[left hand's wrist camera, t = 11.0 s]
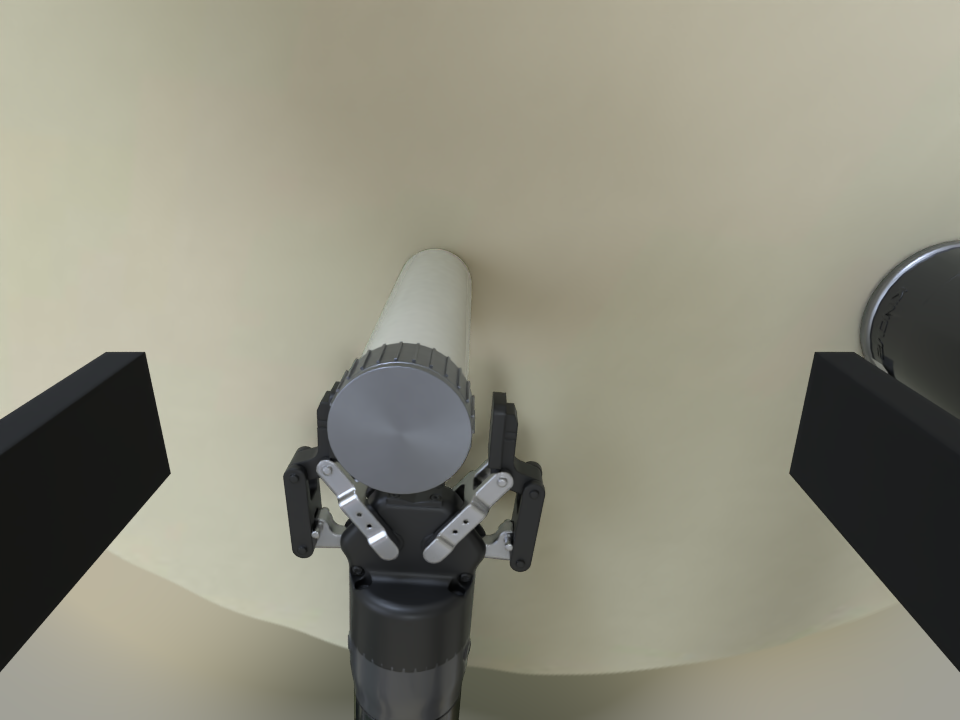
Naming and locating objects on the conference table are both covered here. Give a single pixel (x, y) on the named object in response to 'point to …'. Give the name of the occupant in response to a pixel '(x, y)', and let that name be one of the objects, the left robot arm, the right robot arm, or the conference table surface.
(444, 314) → the bottle
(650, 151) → the conference table surface
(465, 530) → the right robot arm
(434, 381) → the lid
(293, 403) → the conference table surface
